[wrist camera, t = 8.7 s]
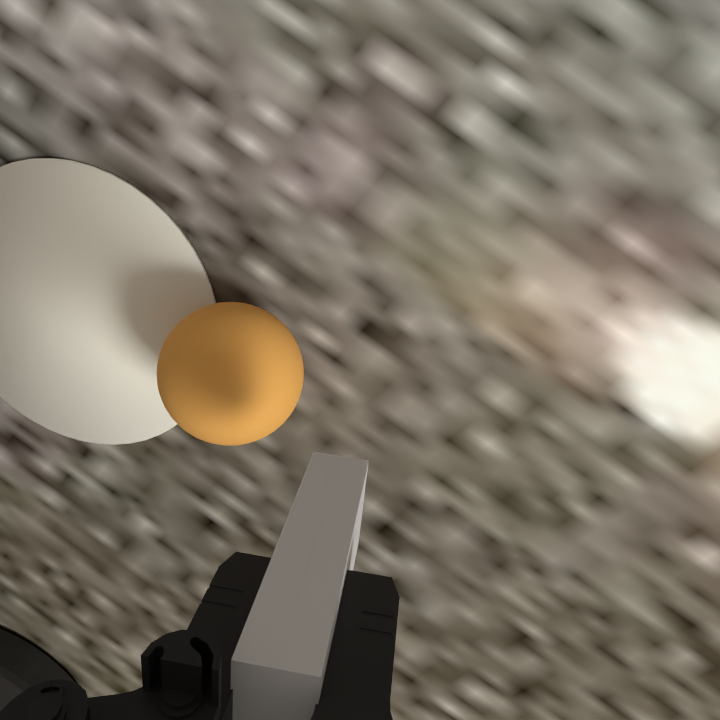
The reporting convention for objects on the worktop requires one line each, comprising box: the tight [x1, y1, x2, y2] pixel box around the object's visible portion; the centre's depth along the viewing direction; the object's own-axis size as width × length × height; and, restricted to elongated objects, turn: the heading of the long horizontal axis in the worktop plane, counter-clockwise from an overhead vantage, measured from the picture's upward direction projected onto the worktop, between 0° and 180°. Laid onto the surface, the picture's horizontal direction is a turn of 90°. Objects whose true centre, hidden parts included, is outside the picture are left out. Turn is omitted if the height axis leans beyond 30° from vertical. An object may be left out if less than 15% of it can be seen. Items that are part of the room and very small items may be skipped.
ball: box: [156, 302, 304, 445], centre depth 22 cm, size 6×6×6 cm
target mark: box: [0, 158, 216, 445], centre depth 25 cm, size 13×13×1 cm
